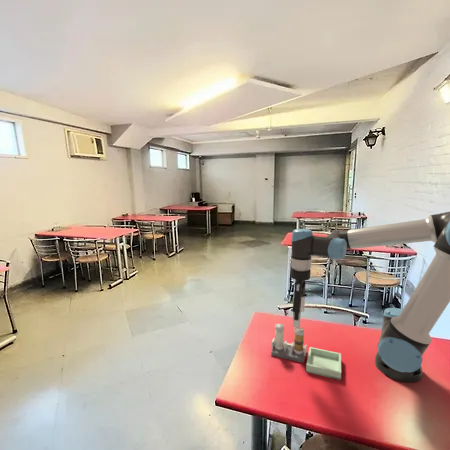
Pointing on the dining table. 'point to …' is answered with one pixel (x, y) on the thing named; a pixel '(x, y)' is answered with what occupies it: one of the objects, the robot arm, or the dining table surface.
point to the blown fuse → (298, 341)
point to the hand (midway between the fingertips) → (298, 318)
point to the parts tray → (324, 363)
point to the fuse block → (288, 352)
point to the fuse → (279, 337)
